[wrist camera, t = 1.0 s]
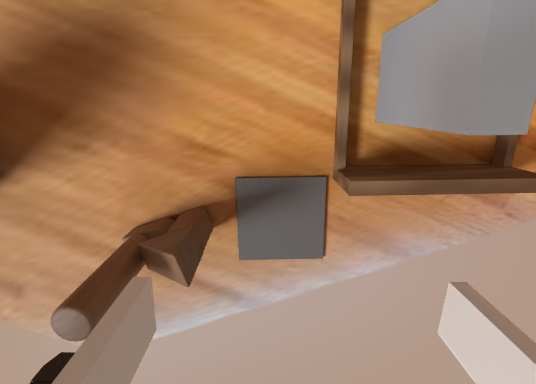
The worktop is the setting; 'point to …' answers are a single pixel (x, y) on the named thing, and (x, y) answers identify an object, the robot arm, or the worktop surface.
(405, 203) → the worktop surface
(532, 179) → the frame
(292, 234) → the mat
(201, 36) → the worktop surface
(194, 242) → the brown long-handled part
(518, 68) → the grey rectangular block
